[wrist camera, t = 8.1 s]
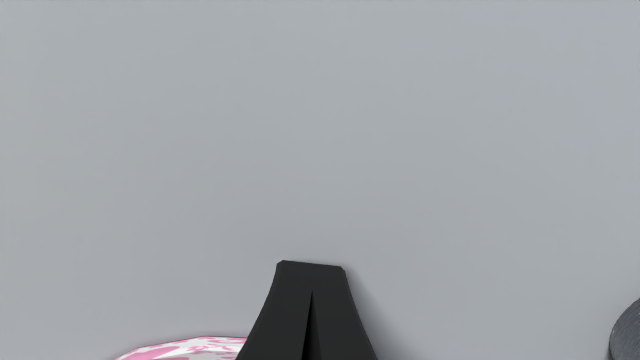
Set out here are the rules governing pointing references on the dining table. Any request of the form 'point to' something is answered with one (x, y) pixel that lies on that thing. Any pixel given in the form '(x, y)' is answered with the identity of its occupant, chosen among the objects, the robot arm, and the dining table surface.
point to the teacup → (190, 350)
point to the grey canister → (626, 334)
